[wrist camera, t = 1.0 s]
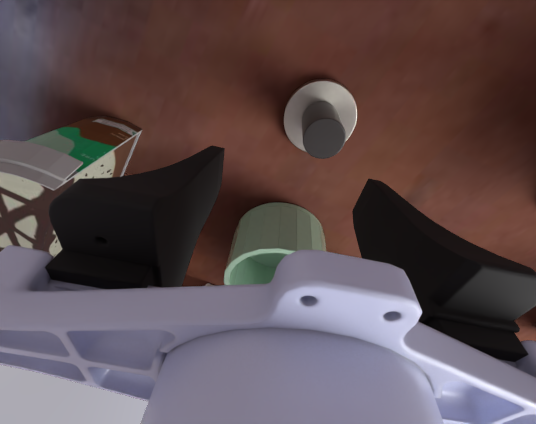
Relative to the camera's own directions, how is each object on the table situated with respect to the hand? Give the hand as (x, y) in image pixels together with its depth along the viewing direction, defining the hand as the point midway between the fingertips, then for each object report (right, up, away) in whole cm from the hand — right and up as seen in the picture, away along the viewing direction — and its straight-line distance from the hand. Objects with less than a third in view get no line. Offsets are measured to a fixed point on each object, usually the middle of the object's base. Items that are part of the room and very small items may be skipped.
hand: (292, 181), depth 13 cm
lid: (+3, +5, +6) cm, 9 cm away
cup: (0, -4, +14) cm, 15 cm away
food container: (-17, +4, +10) cm, 20 cm away
